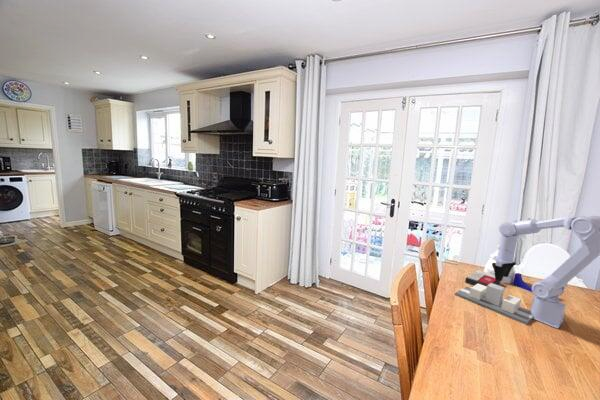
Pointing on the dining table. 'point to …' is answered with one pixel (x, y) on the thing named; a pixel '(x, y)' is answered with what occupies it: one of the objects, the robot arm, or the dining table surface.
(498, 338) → the dining table surface
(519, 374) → the dining table surface
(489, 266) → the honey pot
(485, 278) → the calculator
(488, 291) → the block
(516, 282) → the blue shoe
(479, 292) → the mounted modules
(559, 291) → the robot arm
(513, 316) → the rail board
